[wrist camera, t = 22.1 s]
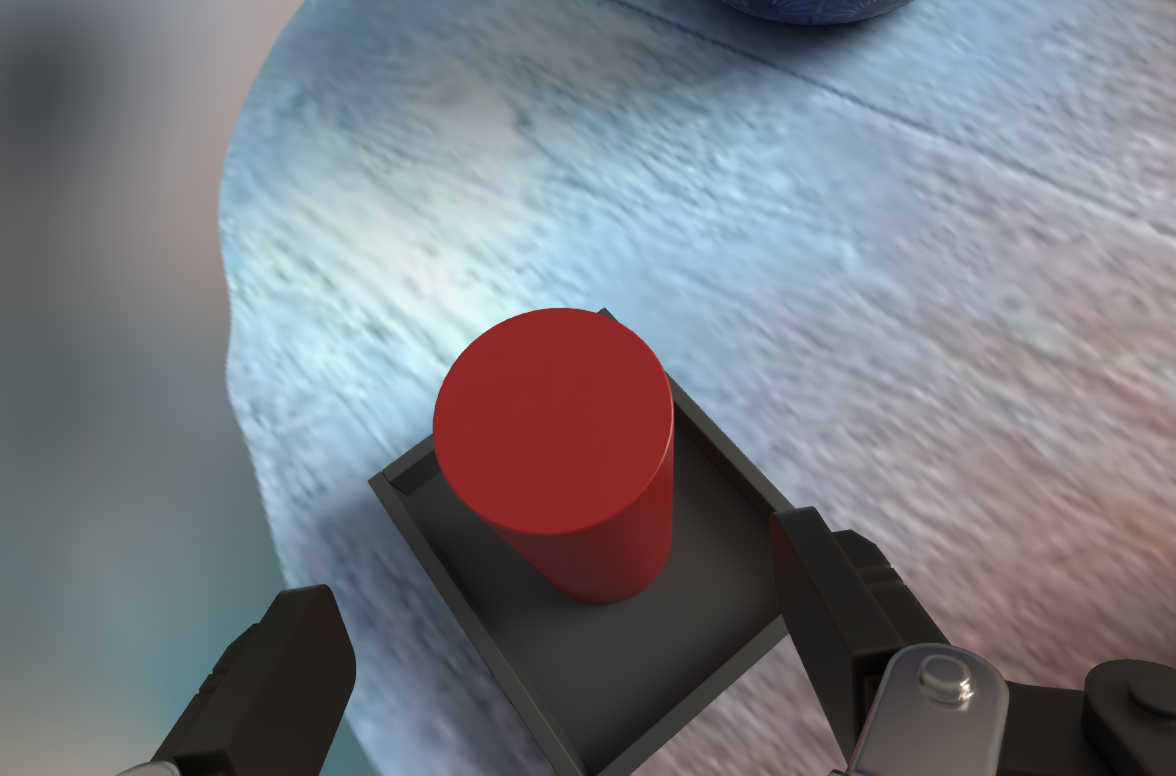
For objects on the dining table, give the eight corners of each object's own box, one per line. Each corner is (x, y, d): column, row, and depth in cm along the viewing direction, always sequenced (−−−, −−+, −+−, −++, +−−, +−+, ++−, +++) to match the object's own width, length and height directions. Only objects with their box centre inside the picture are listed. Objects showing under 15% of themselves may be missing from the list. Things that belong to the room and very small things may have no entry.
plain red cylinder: (690, 490, 26) (706, 343, 15) (644, 626, 24) (623, 574, 13) (564, 447, 27) (491, 281, 16) (511, 573, 25) (389, 484, 14)
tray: (592, 802, 22) (583, 816, 20) (392, 498, 27) (366, 480, 25) (839, 583, 24) (857, 572, 22) (609, 337, 29) (604, 306, 27)
